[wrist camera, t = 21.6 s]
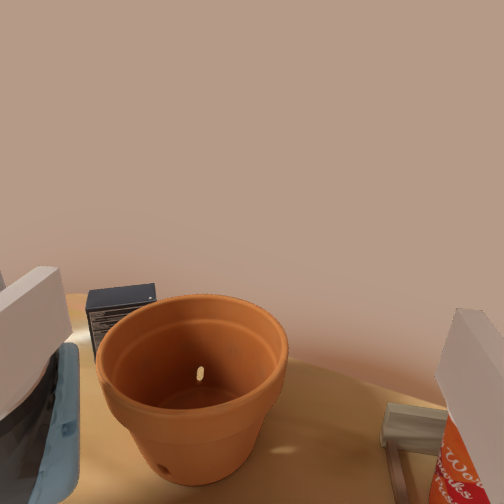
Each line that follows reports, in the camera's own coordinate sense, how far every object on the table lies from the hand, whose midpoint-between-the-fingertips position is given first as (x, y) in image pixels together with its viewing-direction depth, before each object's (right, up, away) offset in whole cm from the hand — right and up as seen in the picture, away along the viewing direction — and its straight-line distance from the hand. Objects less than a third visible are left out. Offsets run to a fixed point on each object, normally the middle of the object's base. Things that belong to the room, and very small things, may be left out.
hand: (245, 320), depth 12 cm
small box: (-21, -14, +50) cm, 56 cm away
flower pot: (-7, -21, +35) cm, 42 cm away
